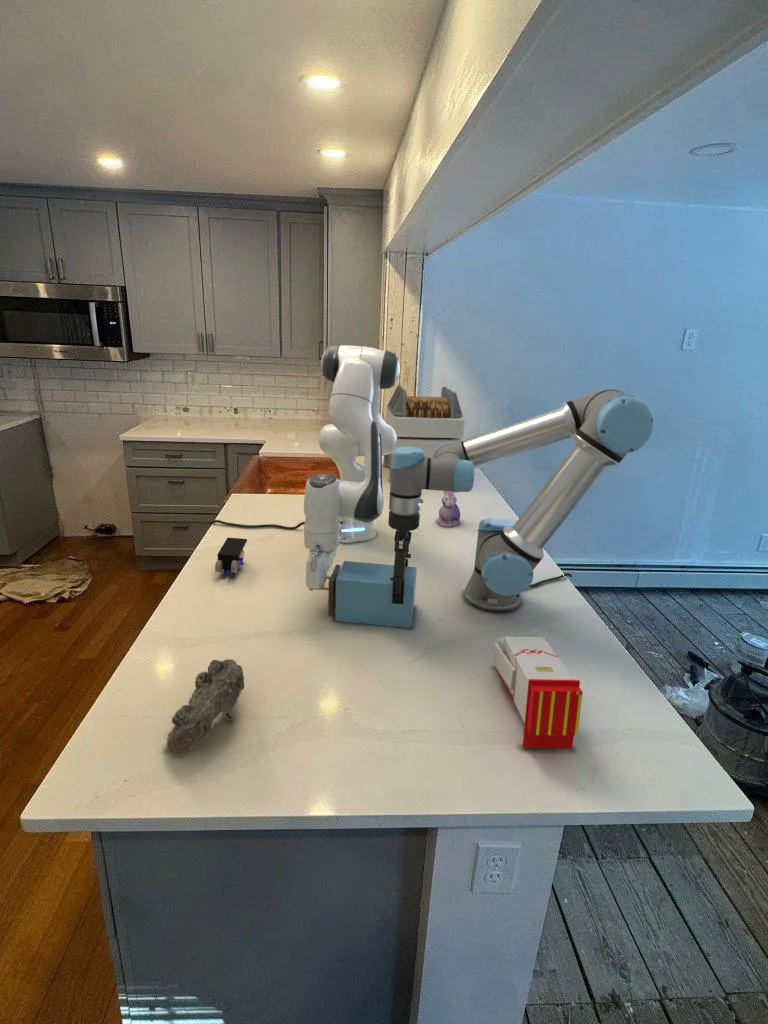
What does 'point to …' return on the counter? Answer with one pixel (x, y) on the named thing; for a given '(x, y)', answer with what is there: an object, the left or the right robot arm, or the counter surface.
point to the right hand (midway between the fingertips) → (399, 592)
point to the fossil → (206, 705)
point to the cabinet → (373, 595)
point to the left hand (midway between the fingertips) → (321, 587)
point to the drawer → (331, 590)
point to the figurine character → (230, 556)
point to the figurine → (449, 510)
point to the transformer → (424, 421)
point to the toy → (539, 691)
